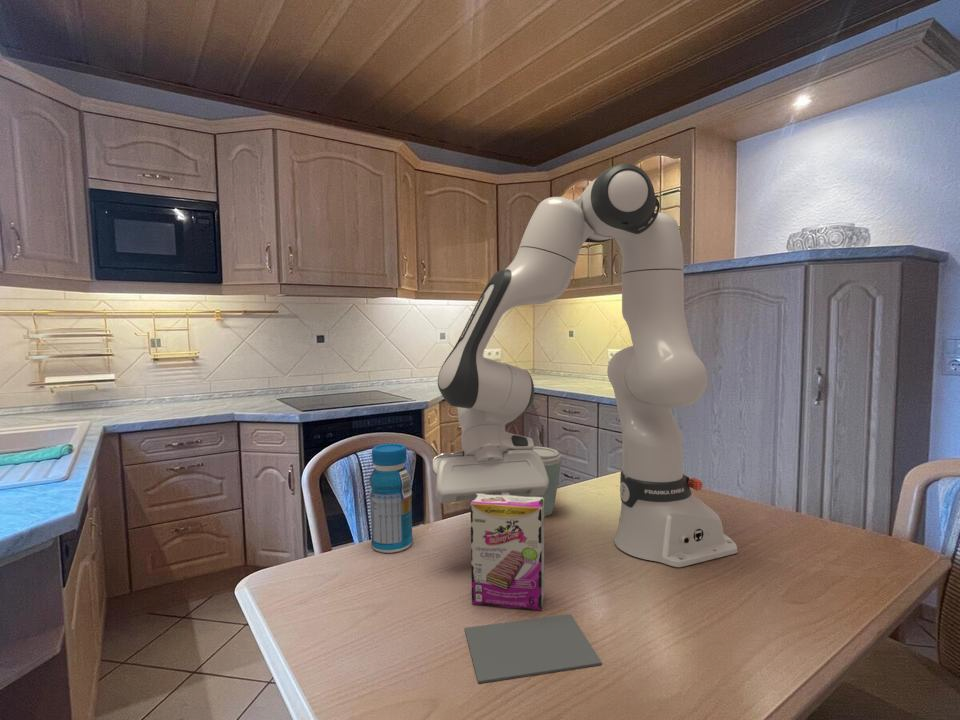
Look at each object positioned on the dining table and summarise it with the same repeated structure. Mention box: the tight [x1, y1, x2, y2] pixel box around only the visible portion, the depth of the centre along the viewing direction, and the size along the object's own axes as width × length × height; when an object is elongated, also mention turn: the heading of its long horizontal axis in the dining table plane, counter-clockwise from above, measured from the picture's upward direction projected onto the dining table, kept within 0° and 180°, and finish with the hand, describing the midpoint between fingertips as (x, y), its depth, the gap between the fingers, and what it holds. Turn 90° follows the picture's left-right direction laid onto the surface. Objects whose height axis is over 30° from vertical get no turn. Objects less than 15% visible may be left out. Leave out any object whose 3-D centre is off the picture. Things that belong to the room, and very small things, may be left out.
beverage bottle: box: [368, 443, 414, 554], centre depth 99 cm, size 8×8×20 cm
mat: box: [464, 613, 603, 684], centre depth 67 cm, size 16×11×1 cm
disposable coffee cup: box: [528, 445, 563, 517], centre depth 115 cm, size 11×11×15 cm
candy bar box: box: [470, 494, 545, 611], centre depth 77 cm, size 11×5×16 cm, turn 78°
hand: (498, 520), depth 84 cm, fingers closed
